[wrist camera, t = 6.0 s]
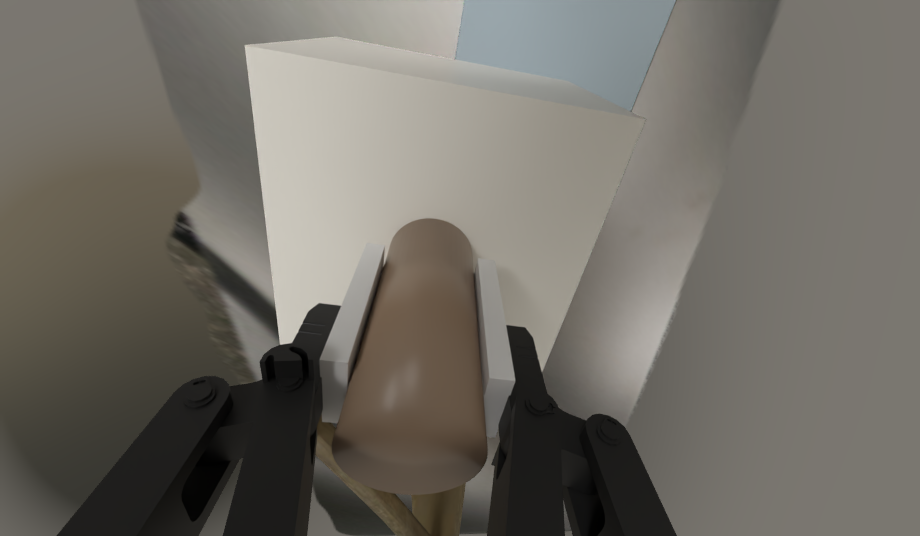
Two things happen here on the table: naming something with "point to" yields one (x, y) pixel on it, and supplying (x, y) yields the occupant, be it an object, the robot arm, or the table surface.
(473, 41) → the mat
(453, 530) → the caddy
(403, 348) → the cover box
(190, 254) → the table surface
